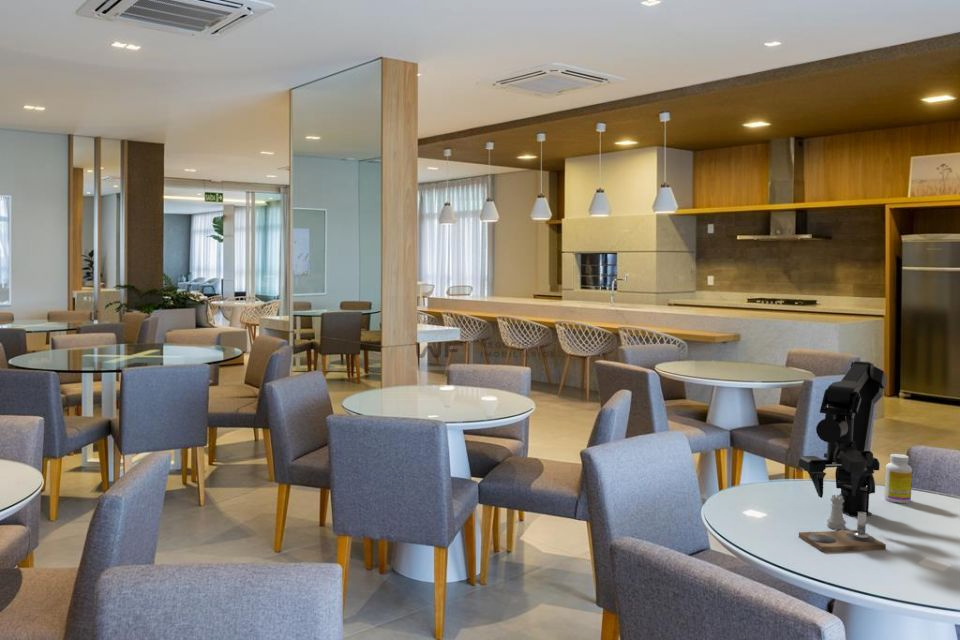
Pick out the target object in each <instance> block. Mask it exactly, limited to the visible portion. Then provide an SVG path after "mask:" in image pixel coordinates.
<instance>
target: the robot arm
mask: <svg viewBox="0 0 960 640" xmlns="http://www.w3.org/2000/svg"><path fill="white" fill-rule="evenodd" d="M887 386H888V378H887V375H886V373H885V371H884V370H882V369H881V368H878V367H876V366H875V365H874V363H872V362H870V361H861V360H860V361H859V360H858V361H857V360H855V361H852V362H851V363H850V368H849V370H848V371H847V372H846V374H844V376H843V377H842V379H841V380H840V381H834V382H832V383H831V384H829V385H828V387H827V388H826V389H825V390H824V393H823V397H822V402H821V406H820V409H819V413H820V414H825V416H824V418H823V419H821V420H820V421H819V422H818V423H817V425H816V429H815V431H816V434H817V437H818V438H819V439H820V440H822V441H823V442H825V443H827V447H826V448H827V449H826V452H824V453H823V458H825V459H823V458H820V457H819V456H815V455H801V457H800V458H799V459H798V468H801V469H803V471H805V472H807V473H808V475H809V477H810V479H811V481H812V483H813V486H814V489H815V491H816V494H817V496H818V498H823V495H824V478H825V476H827V473H826V472H825V470H827V469H826V468H836V469H835V476H834V477H835V488H836V489H839V490H840V493H839V494H838V495H839V497H840V496H842V497H843V499H844V502H843V503H842V506H843V508H842V513H843V514H846V515H848V516H851V517H853V516H855V517H858V512H859V511H862V512H866V516H872V515H873V513H872V512H870V511H869V507H870V504H869V503H870V495H871V494H875V493H876V480H875V478H874V474H875V471H880V468H881V467H880V465H881V464H880V461H879V459H878V458H876V457H874V452H872V451H871V450H868V447H869V443H870V435H871V429H872V422H873V416H874V410H875V405H876V403H877V402H879V400H881V398H882V397H883V394H884V391H885V389H887Z"/></svg>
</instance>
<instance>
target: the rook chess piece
mask: <svg viewBox="0 0 960 640" xmlns="http://www.w3.org/2000/svg"><path fill="white" fill-rule="evenodd" d="M839 495H840V494H837V495H836V494H833V495H831V498H830V502H831V504H830V507H831V509H830V510H831V511H830V515H829V517H828V518H827V520H826V522H827V523H826V526H827V528H829V529H831V528H832V530H835V529H838V530H837V531H843V530H844V529H846V527H847V526H846V522H847V521H846V520H845V517H844V516H843V514H844V513H843V512H842V508H843V506H842V503H843V502H844V499H843V497H842V496H840V497H839ZM842 529H843V530H842Z"/></svg>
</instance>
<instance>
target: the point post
mask: <svg viewBox="0 0 960 640" xmlns="http://www.w3.org/2000/svg"><path fill="white" fill-rule="evenodd" d="M856 521H857V523H856V525H857V527H856V530H857V532H854V537H855V538H858V539H868V536H869V535H870V534H868V533H867V532H866V530H867V529H866V527H867V526H866V525H867V523H866V522H867V515H866V512H862V511H859V512H858V516H857V520H856Z"/></svg>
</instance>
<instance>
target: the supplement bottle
mask: <svg viewBox="0 0 960 640" xmlns="http://www.w3.org/2000/svg"><path fill="white" fill-rule="evenodd" d="M889 456H890V457H889V461H890V462H888V463H887V464H886V465H885V473H884V474H885V475H884V477H885V479H884V499H885V500H886V501H888V502H892V503H895V502H898V503H897V504H908V503H907V502H909V503H910V502H911V501H912V485H913V484H912V482H913V477H912V476H913V468H912V466H910V465H909V464H908V463H909V461H910V457H909V456H908V455H906V454H901V453H891V454H890V455H889Z"/></svg>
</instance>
